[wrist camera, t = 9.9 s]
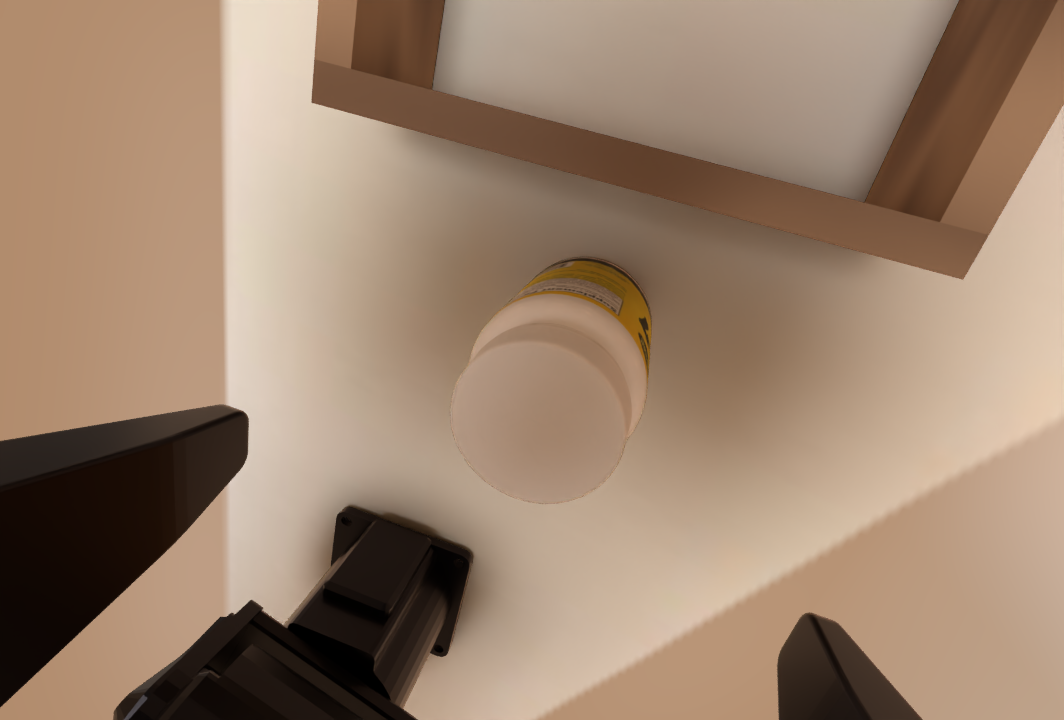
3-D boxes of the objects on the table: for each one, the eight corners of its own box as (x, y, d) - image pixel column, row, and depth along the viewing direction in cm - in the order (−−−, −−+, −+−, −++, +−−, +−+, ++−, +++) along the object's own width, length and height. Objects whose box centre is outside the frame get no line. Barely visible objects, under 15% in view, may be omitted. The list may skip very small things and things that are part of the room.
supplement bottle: (630, 398, 20) (607, 548, 13) (509, 361, 21) (417, 483, 13) (671, 274, 18) (675, 363, 11) (537, 238, 19) (449, 296, 11)
